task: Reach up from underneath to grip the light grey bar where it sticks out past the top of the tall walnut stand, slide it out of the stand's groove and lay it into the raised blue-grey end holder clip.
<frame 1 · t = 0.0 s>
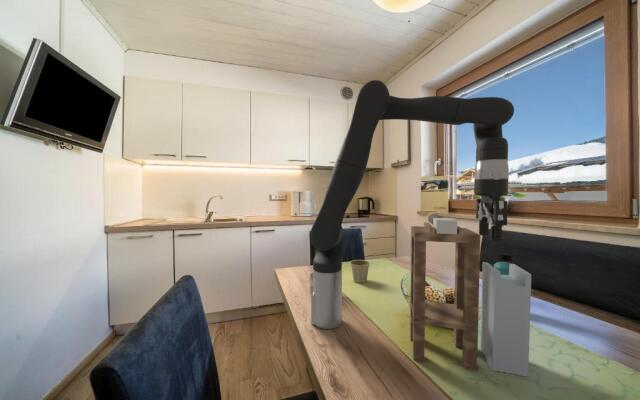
hand: (489, 238, 67), 29 cm above the table, tool pointing down, fingers open, 8 cm apart
walnut stand: (439, 351, 65), on the table
light grey bar: (438, 221, 68), point 34 cm above the table, touching walnut stand
flower pot: (359, 281, 116), on the table
beverage bottle: (503, 310, 88), on the table
end holder: (502, 362, 61), on the table
label tape box: (321, 292, 104), on the table
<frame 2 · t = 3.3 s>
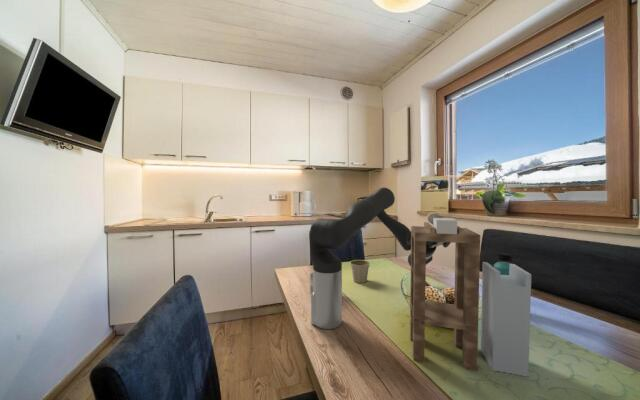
hand: (430, 233, 83), 28 cm above the table, tool pointing upward, fingers open, 8 cm apart
nothing on the table moved.
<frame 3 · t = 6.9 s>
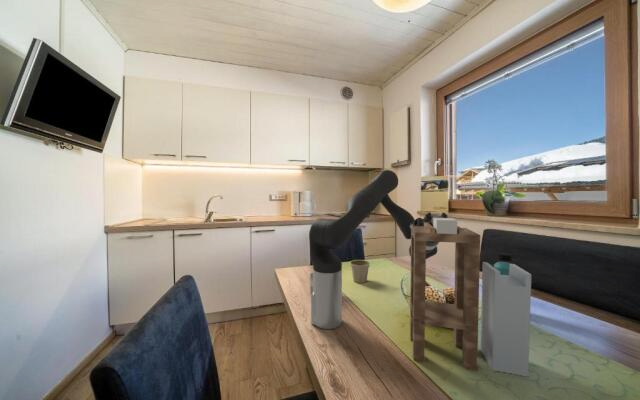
hand: (437, 215, 71), 35 cm above the table, tool pointing upward, fingers closed on light grey bar, 3 cm apart
light grey bar: (438, 221, 68), point 34 cm above the table, touching gripper, walnut stand
everything else where it was.
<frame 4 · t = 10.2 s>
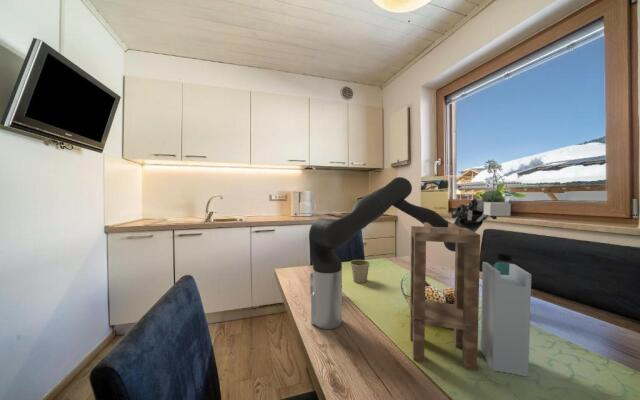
hand: (482, 201, 75), 39 cm above the table, tool pointing upward, fingers closed on light grey bar, 3 cm apart
light grey bar: (485, 207, 73), point 37 cm above the table, touching gripper
everything else where it was.
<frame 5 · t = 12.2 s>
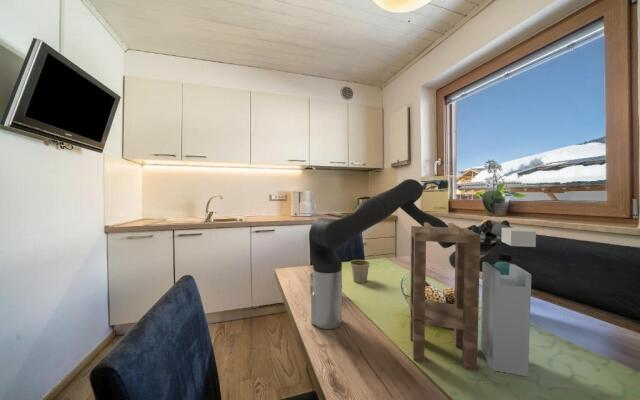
hand: (498, 223, 64), 34 cm above the table, tool pointing upward, fingers closed on light grey bar, 3 cm apart
light grey bar: (502, 230, 62), point 32 cm above the table, touching gripper
everything else where it was.
when the fingers open (26 cm above the table, at t = 13.8 s): light grey bar drops 2 cm, resting on end holder.
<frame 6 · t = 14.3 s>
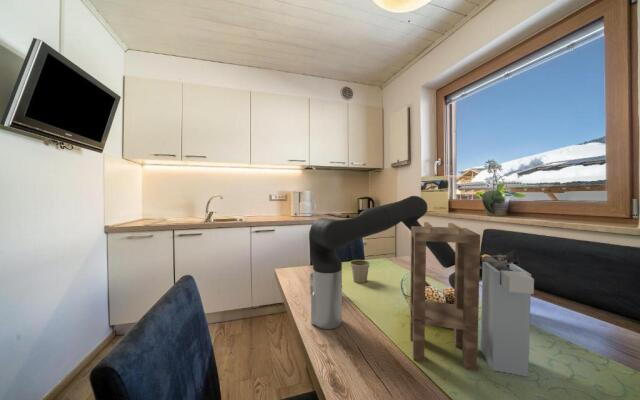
hand: (496, 254, 65), 26 cm above the table, tool pointing upward, fingers open, 7 cm apart
light grey bar: (500, 270, 62), point 22 cm above the table, touching end holder
everything else where it was.
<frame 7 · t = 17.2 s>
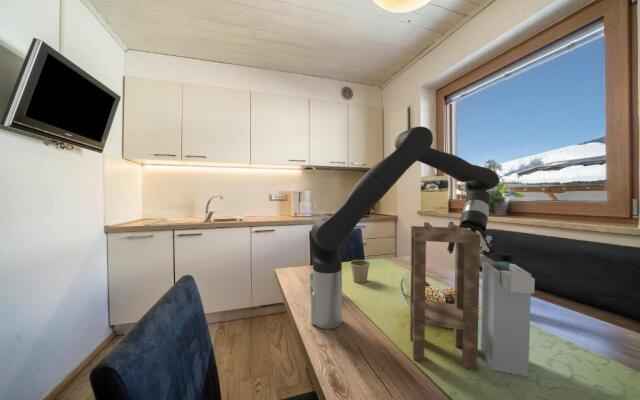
hand: (466, 257, 75), 22 cm above the table, tool tilted 45°, fingers open, 8 cm apart
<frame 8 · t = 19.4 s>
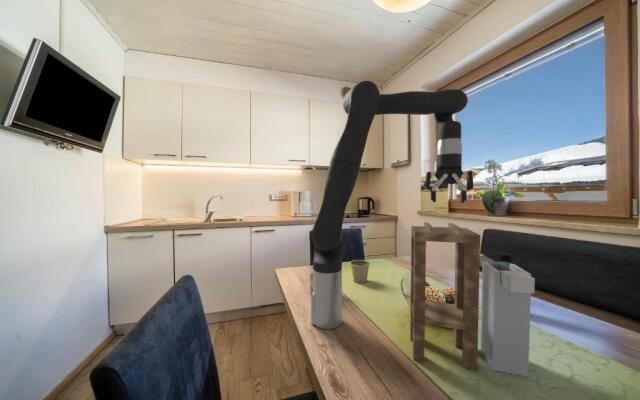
hand: (448, 202, 84), 38 cm above the table, tool pointing down, fingers open, 8 cm apart
nothing on the table moved.
at the end: light grey bar inside the target area on the end holder (0.7 cm from its centre), point 22.1 cm above the end holder's base; light grey bar touching end holder; the gripper is holding nothing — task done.
